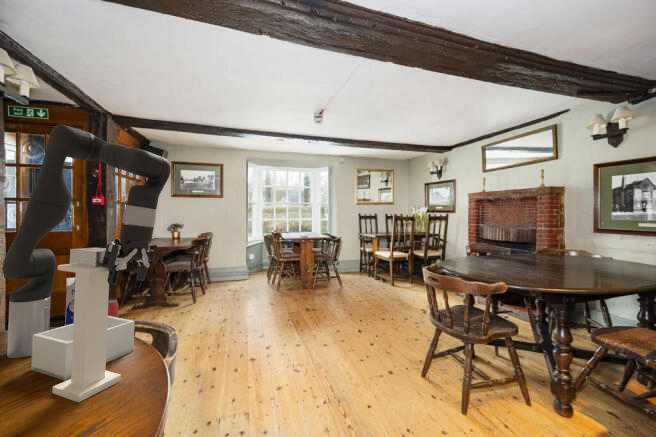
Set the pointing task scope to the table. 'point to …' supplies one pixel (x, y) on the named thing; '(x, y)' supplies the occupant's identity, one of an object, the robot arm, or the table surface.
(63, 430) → the table surface
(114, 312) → the beer can
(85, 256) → the metal head mallet
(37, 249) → the robot arm
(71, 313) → the milk carton
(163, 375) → the table surface
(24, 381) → the table surface
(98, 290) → the stand
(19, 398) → the table surface
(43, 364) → the box
